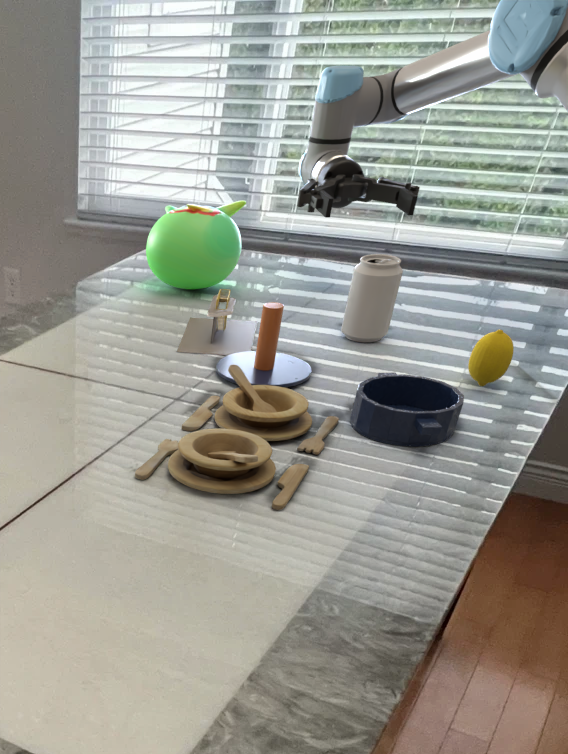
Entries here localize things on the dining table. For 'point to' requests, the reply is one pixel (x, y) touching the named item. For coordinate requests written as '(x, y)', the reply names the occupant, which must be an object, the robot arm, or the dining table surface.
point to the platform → (218, 331)
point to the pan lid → (267, 356)
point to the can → (372, 297)
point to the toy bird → (194, 245)
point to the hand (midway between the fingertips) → (371, 207)
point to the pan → (406, 409)
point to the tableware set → (241, 441)
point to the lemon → (491, 357)
